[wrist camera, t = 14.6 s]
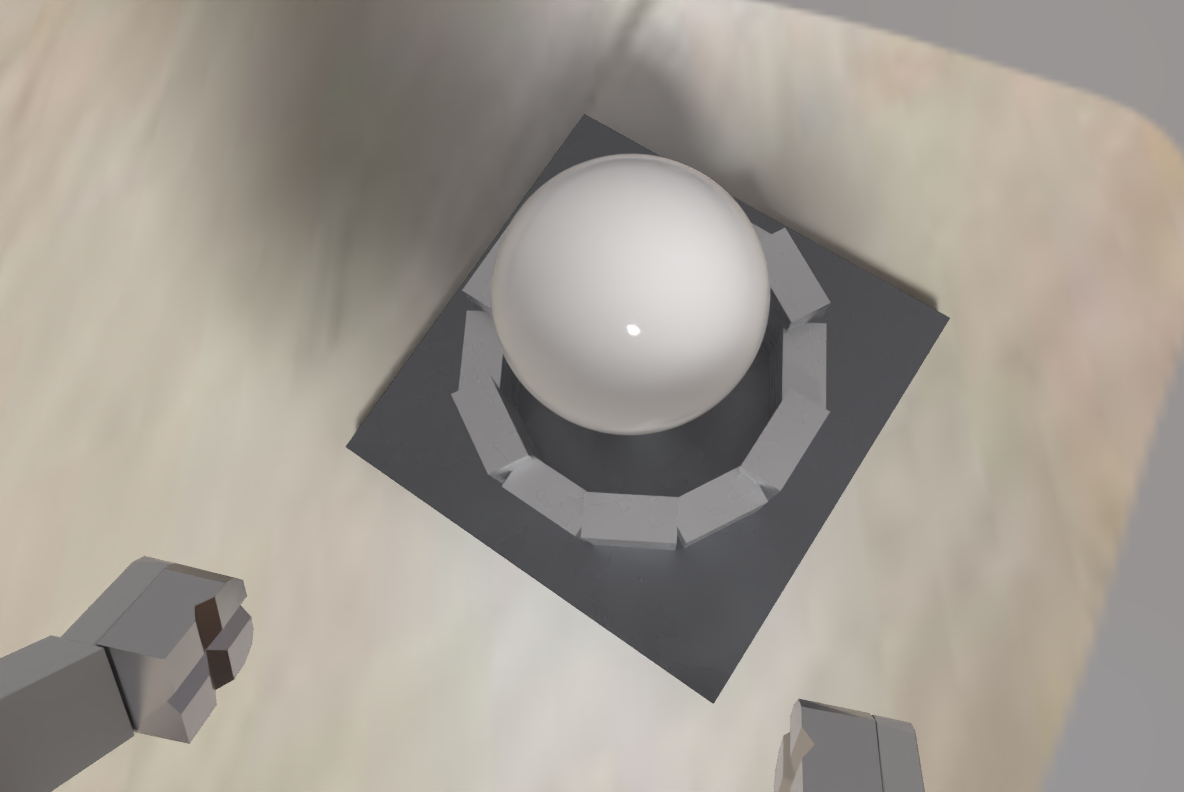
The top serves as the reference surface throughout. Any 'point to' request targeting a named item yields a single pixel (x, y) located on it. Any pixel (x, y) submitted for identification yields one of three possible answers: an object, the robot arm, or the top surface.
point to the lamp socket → (659, 451)
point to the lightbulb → (630, 294)
